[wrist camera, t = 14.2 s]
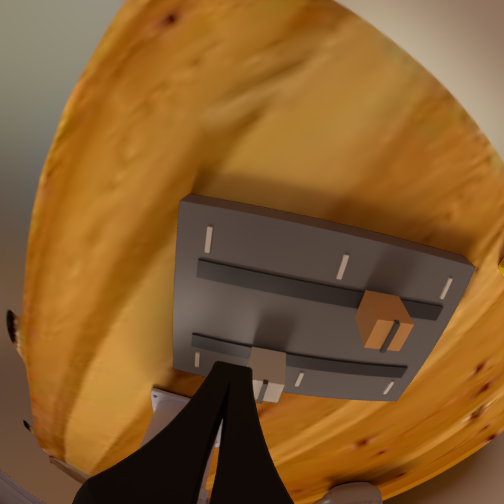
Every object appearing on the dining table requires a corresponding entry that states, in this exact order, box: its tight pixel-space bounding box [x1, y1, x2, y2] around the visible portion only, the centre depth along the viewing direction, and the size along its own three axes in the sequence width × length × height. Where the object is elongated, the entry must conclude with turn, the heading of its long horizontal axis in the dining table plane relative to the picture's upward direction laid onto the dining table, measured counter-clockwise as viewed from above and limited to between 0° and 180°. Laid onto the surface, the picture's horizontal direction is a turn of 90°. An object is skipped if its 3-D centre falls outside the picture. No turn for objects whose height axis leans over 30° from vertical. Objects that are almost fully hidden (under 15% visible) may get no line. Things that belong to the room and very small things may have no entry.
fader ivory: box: [247, 347, 286, 403], centre depth 18 cm, size 2×2×3 cm
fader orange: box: [355, 290, 414, 353], centre depth 15 cm, size 2×2×3 cm
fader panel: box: [173, 194, 476, 401], centre depth 19 cm, size 14×20×2 cm
